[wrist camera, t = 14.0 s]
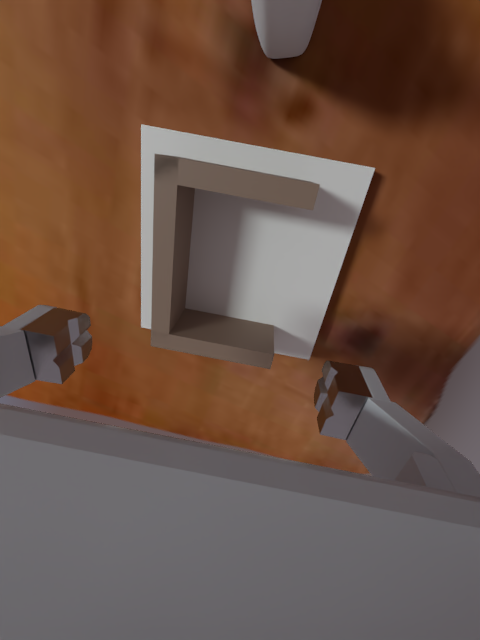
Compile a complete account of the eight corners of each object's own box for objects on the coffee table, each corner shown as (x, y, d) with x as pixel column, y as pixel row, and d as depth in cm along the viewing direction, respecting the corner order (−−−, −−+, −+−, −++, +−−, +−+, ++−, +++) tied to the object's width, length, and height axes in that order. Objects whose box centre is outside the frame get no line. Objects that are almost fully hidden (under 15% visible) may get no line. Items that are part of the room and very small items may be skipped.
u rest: (147, 126, 18) (107, 112, 13) (370, 168, 18) (402, 167, 13) (145, 321, 24) (118, 355, 20) (307, 352, 24) (315, 393, 20)
